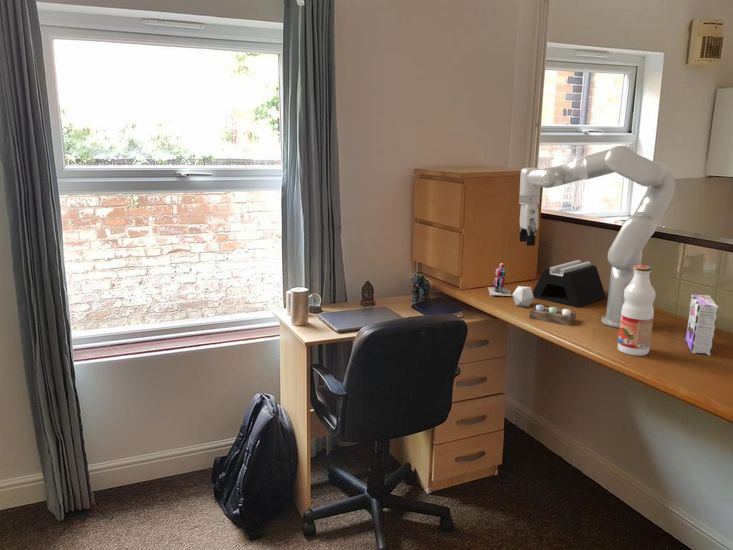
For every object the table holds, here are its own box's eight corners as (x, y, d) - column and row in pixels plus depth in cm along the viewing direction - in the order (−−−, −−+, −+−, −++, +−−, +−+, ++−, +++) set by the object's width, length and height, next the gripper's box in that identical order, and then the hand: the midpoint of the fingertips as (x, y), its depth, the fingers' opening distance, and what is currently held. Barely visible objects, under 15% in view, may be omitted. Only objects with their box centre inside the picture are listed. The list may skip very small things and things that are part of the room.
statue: (511, 300, 251) (515, 267, 246) (490, 299, 251) (493, 266, 246) (508, 290, 261) (511, 259, 256) (487, 289, 262) (490, 258, 256)
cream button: (571, 318, 217) (571, 309, 216) (568, 320, 214) (569, 311, 214) (563, 317, 218) (563, 308, 218) (560, 319, 216) (561, 310, 215)
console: (575, 320, 218) (576, 312, 218) (569, 325, 212) (570, 317, 211) (536, 313, 227) (537, 306, 226) (529, 318, 220) (529, 310, 220)
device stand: (530, 297, 251) (533, 264, 247) (558, 289, 265) (560, 257, 262) (579, 308, 234) (582, 272, 231) (605, 298, 249) (608, 264, 246)
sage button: (557, 316, 220) (558, 307, 219) (555, 318, 217) (556, 309, 216) (549, 315, 221) (550, 306, 220) (547, 316, 219) (548, 308, 218)
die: (535, 305, 240) (525, 285, 243) (539, 300, 232) (529, 279, 234) (517, 313, 240) (507, 292, 242) (521, 308, 231) (510, 286, 234)
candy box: (684, 339, 197) (691, 293, 193) (704, 342, 195) (711, 295, 191) (690, 353, 185) (697, 303, 181) (711, 355, 183) (719, 305, 179)
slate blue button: (544, 314, 222) (545, 305, 222) (542, 316, 220) (542, 307, 219) (537, 312, 224) (537, 304, 223) (534, 314, 222) (535, 306, 221)
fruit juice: (651, 357, 181) (661, 270, 174) (618, 354, 184) (627, 268, 177) (646, 347, 189) (656, 264, 183) (615, 344, 192) (624, 262, 186)
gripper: (546, 202, 216) (543, 247, 220) (532, 197, 233) (529, 239, 237) (526, 202, 216) (523, 247, 220) (513, 198, 233) (511, 240, 237)
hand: (526, 243), depth 228 cm, fingers open, 9 cm apart
